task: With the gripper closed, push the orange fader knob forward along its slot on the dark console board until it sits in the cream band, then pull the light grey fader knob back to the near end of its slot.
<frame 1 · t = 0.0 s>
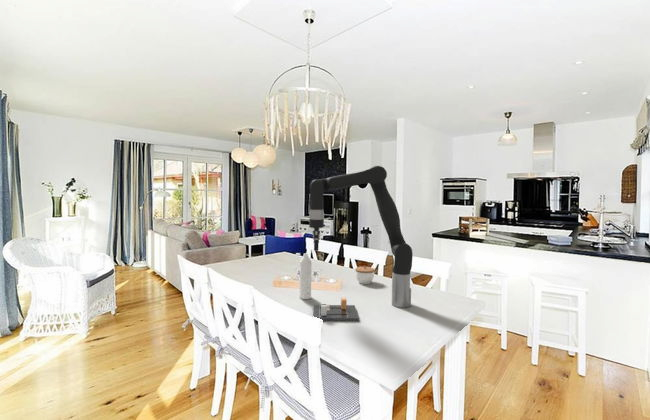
hand: (316, 249, 158), 29 cm above the table, tool pointing down, fingers open, 8 cm apart
lidded bowl: (364, 282, 200), on the table
fader orange: (343, 303, 151), point 4 cm above the table, slide at 0.0 cm
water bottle: (303, 298, 170), on the table
console: (334, 314, 147), on the table
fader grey: (323, 309, 143), point 4 cm above the table, slide at 10.0 cm
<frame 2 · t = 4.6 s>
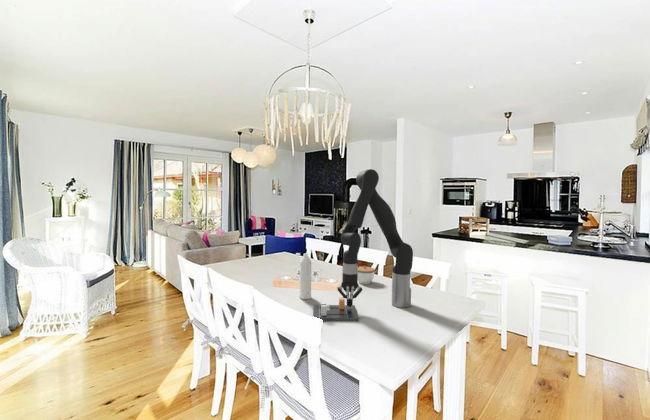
hand: (349, 306, 151), 3 cm above the table, tool pointing down, fingers closed
fader orange: (341, 303, 151), point 4 cm above the table, slide at 1.0 cm, touching gripper
everything else where it was.
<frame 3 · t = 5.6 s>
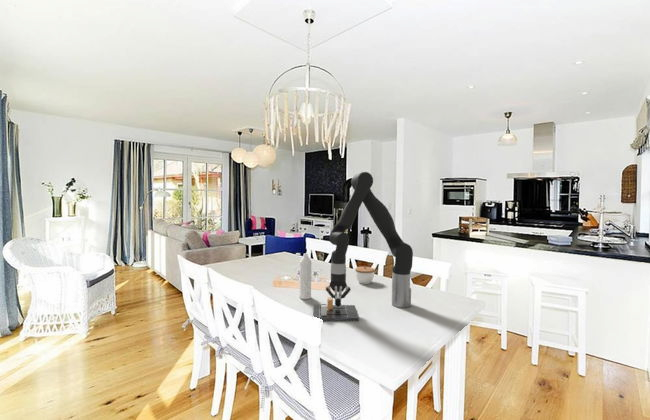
hand: (337, 305, 151), 3 cm above the table, tool pointing down, fingers closed
fader orange: (330, 303, 151), point 4 cm above the table, slide at 6.8 cm, touching gripper
everything else where it was.
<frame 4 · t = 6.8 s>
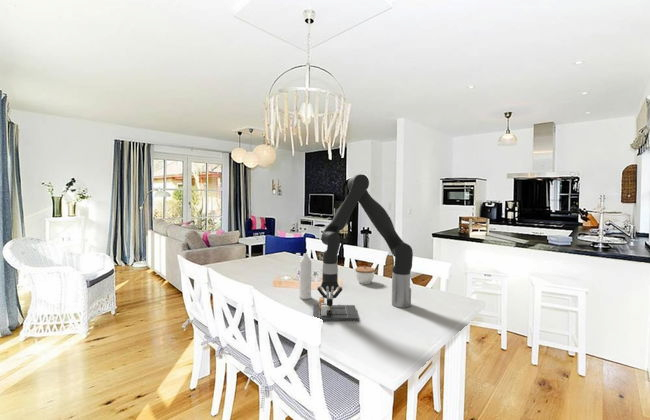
hand: (329, 305, 151), 3 cm above the table, tool pointing down, fingers closed
fader orange: (321, 302, 151), point 4 cm above the table, slide at 10.9 cm, touching gripper
everything else where it was.
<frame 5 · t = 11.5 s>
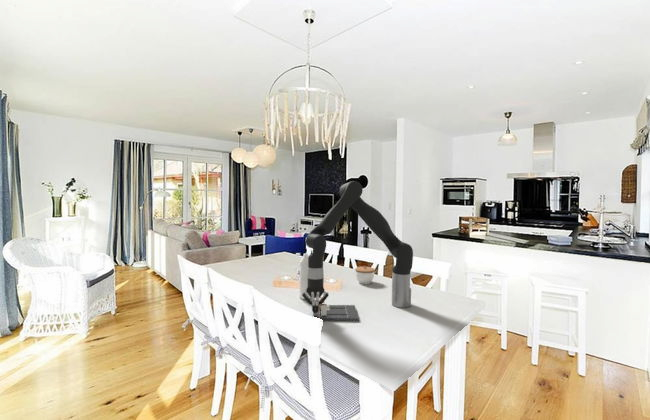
hand: (315, 312, 143), 2 cm above the table, tool pointing down, fingers closed
fader orange: (321, 302, 151), point 4 cm above the table, slide at 10.9 cm
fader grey: (323, 309, 143), point 4 cm above the table, slide at 9.9 cm, touching gripper
everything else where it was.
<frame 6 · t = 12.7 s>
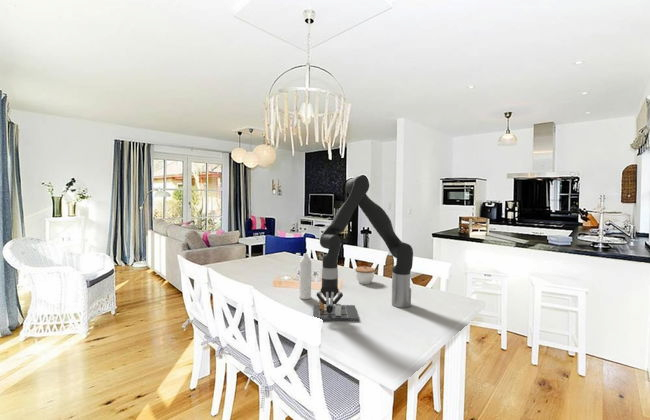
hand: (329, 312, 143), 2 cm above the table, tool pointing down, fingers closed
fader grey: (338, 309, 143), point 4 cm above the table, slide at 3.3 cm, touching gripper
everything else where it was.
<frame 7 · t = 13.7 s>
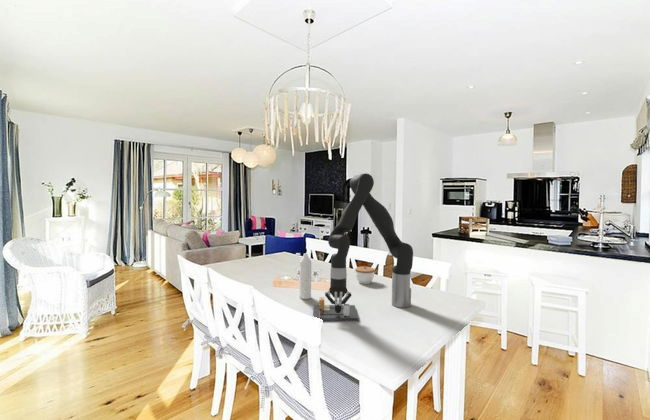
hand: (337, 312, 143), 2 cm above the table, tool pointing down, fingers closed
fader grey: (346, 309, 143), point 4 cm above the table, slide at -0.7 cm, touching gripper
everything else where it was.
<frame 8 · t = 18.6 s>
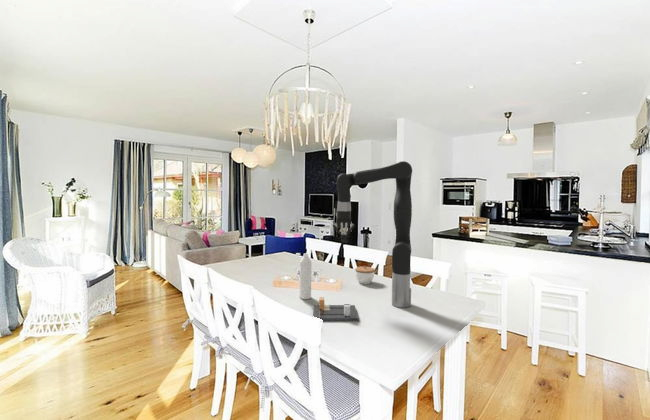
hand: (343, 241, 168), 32 cm above the table, tool pointing down, fingers closed
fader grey: (347, 309, 143), point 4 cm above the table, slide at -0.9 cm
everything else where it was.
at the end: fader orange slide at 10.9 cm; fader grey slide at -0.9 cm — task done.
